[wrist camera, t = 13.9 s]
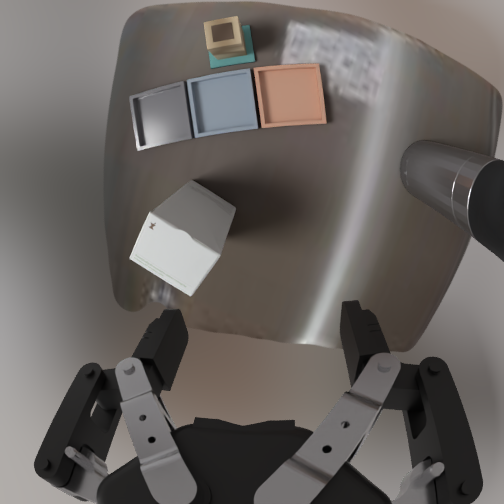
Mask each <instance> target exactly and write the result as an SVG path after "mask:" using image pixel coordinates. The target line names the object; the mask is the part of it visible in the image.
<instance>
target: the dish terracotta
mask: <svg viewBox="0 0 504 504" xmlns="http://www.w3.org/2000/svg"><path fill="white" fill-rule="evenodd" d="M254 74H255V81H256V88H257V96H258V103H259V110H260V118H261V126H262V128H267V127H278V126H290V125H305V124H327V123H326V113H325V105H324V96H323V89H322V81H321V74H320V68H319V64H292V65H278V66H267V67H258V68H254Z"/></svg>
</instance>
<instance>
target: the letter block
mask: <svg viewBox="0 0 504 504" xmlns="http://www.w3.org/2000/svg"><path fill="white" fill-rule="evenodd" d="M204 28H205V36H206V43H207V50H208V51H209V52H210V53H211V54H212V55H213V56H214V57H215V58H216V59H217V60H221V59H226V58H232V57H238V56H245V55H247V52H246V45H245V39H244V33H243V29H242V27H241V24H240V21H239V19H238V16H235V17H229V18H223V19H218V20H213V21H208V22H204Z"/></svg>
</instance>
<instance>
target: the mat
mask: <svg viewBox="0 0 504 504" xmlns="http://www.w3.org/2000/svg"><path fill="white" fill-rule="evenodd" d="M241 27H242V29H243V33H244V39H245V45H246V52H247V55H245V56H238V57H232V58H226V59H221V60H217V59H216V58H215V57H214V56H213V55H212V54H211V53H210V52H209V58H210V65H211V69H213V68H218V67H224V66H230V65H236V64H243V63H250V62H255V57H254V51H253V44H252V38H251V31H250V26H249V25H246V26H241Z"/></svg>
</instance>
